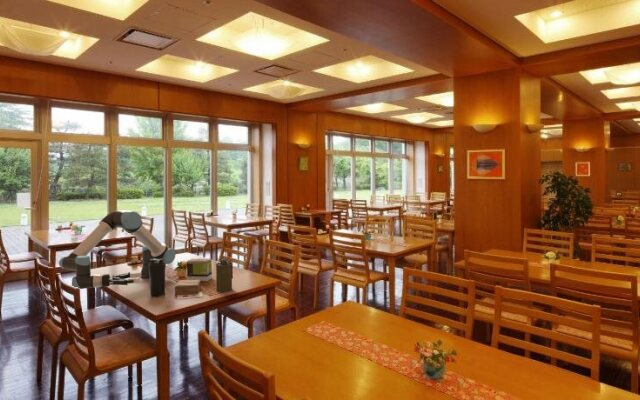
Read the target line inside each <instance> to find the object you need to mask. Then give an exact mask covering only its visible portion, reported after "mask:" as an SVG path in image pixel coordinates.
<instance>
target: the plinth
mask: <svg viewBox="0 0 640 400" xmlns="http://www.w3.org/2000/svg"><path fill="white" fill-rule="evenodd" d="M201 282H202V281H200V279H198V280H187V279H182V280H181V279H180V280H177V282H176V284H175V286H174V296H175V297H177V295H194V294H198V293H199V292H201V286H202V285H201Z"/></svg>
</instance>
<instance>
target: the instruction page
mask: <svg viewBox="0 0 640 400" xmlns="http://www.w3.org/2000/svg"><path fill="white" fill-rule="evenodd" d="M202 297H203V292H202V291H199V293H198V294H194V295H177V296H176V299H177V300H181V299H191V298H193V299H194V298H202Z"/></svg>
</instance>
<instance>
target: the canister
mask: <svg viewBox="0 0 640 400" xmlns="http://www.w3.org/2000/svg"><path fill="white" fill-rule="evenodd" d="M215 267H216V270H215V271H216V272H215V273H216V275H215V276H216V278H215V279H216V281H215V282H216V292H218V293H226V292H227V293H228V292H230V291H232V290H233V279H234V276H233V274H234V272H233V270H234V269H233V268H234V267H233V262H232V261H228V260H227V259H224V258H223V259H219V262H216V263H215Z"/></svg>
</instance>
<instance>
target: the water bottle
mask: <svg viewBox="0 0 640 400" xmlns="http://www.w3.org/2000/svg"><path fill="white" fill-rule="evenodd" d="M166 266H167V264H166V263H165V262H164V259H151V262H150V263H149V265H148V268H149V277H150V278H149V287H150V288H149V290H150V296H151V297H152V298H159V297H163V296H165V295H166Z"/></svg>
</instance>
